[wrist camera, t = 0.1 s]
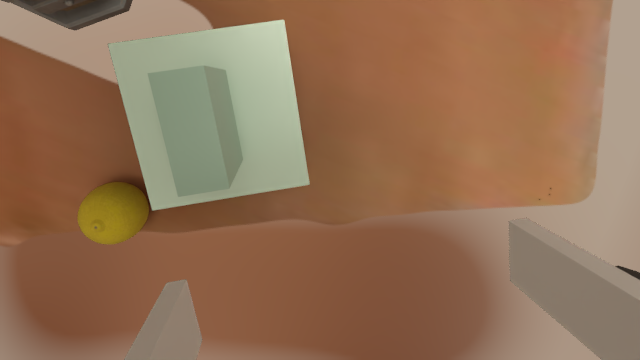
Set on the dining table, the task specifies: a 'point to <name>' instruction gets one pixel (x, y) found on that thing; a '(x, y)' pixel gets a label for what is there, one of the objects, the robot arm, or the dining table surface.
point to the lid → (212, 113)
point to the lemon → (113, 213)
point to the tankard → (74, 10)
